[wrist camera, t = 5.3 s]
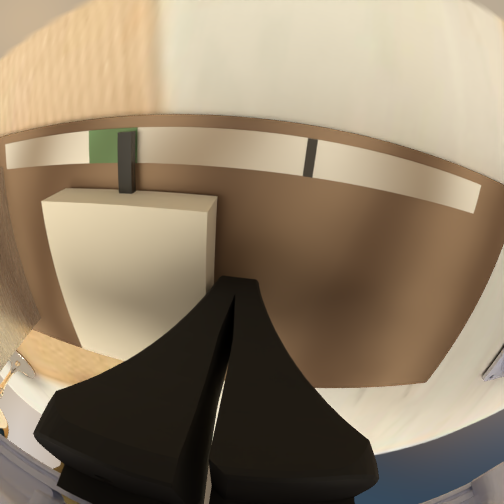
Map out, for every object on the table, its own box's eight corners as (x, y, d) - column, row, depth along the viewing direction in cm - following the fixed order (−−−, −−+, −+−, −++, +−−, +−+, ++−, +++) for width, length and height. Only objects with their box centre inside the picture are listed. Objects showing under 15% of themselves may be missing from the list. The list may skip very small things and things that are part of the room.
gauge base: (506, 186, 8) (521, 193, 7) (421, 370, 14) (426, 383, 13) (-12, 140, 9) (-26, 145, 8) (28, 315, 14) (20, 325, 13)
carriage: (222, 132, 8) (211, 135, 6) (212, 352, 12) (206, 378, 10) (63, 136, 8) (36, 143, 6) (96, 328, 12) (82, 348, 10)
